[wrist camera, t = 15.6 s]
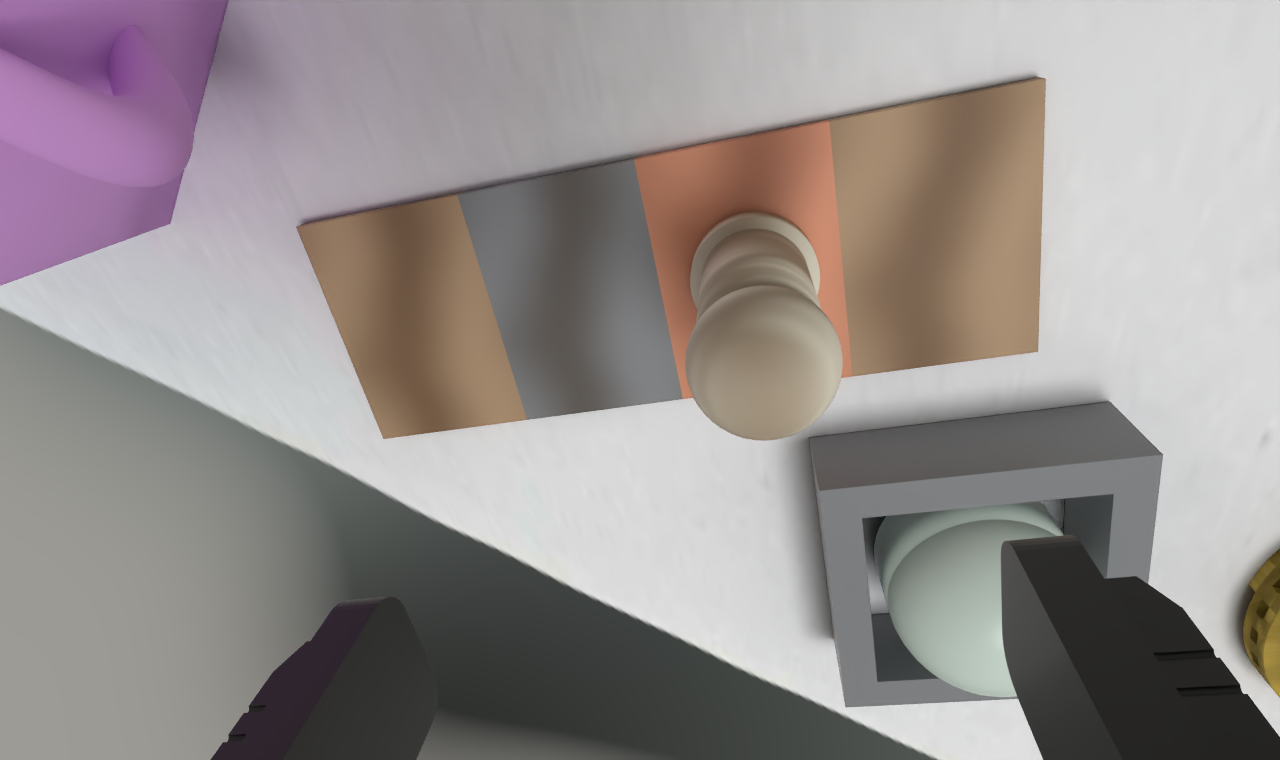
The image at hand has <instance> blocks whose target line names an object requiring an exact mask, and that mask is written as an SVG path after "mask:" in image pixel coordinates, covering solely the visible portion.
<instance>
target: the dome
mask: <svg viewBox="0 0 1280 760" xmlns="http://www.w3.org/2000/svg"><path fill="white" fill-rule="evenodd" d="M1053 536H1063V533H1062V532H1061V530H1060V529H1059V527H1058V525H1057V524H1056V522H1055V521H1054V519H1053V518H1052V516H1051V515H1050V513H1049V512H1048V510H1047V509H1046V507H1045V506H1044V504H1043V503H1042V502H1041V501H1034V502H1024V503H1014V504H1004V505H993V506H983V507H973V508H963V509H952V510H942V511H932V512H922V513H911V514H901V515H891V516H886V517H885V519H884V520H883V522H882V524H881V526H880V528H879V530H878V533H877V536H876V539H875V545H874V556H875V562H876V566H877V570H878V574H879V577H880V581H881V585H882V588H883V592H884V596H885V599H886V603H887V607H888V610H889V613H890V616H891V619H892V622H893V624H894V627H895V629H896V631H897V633H898V635H899V636H900V638H901V640H902V642H903V643H904V645H905V646H906V648H907V649H908V650H909V651H910V652H911V654H912V655H913V656H914V657H915V659H916V660H917V661H918V662H920V663H921V664H922V665H923V666H924V667H925V668H926V669H927V670H929V671H930V672H931V673H932V674H934V675H935V676H937V677H938V678H940V679H942V680H943V681H945V682H947V683H949V684H950V685H952V686H954V687H957V688H960V689H962V690H965V691H968V692H971V693H974V694H978V695H984V696H992V697H1015V696H1017V694H1016V692H1015V689H1014V687H1013V684H1012V681H1011V677H1010V674H1009V670H1008V667H1007V662H1006V658H1005V653H1004V646H1003V638H1002V599H1001V547H1002V543H1003V542H1004V541H1010V540H1021V539H1031V538H1042V537H1053Z"/></svg>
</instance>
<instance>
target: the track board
mask: <svg viewBox="0 0 1280 760" xmlns="http://www.w3.org/2000/svg"><path fill="white" fill-rule="evenodd" d="M1045 86H1046V79H1045V78H1040V77H1038V78H1033V79H1028V80H1023V81H1017V82H1012V83H1007V84H1002V85H997V86H992V87H987V88H982V89H977V90H972V91H967V92H962V93H957V94H952V95H947V96H942V97H937V98H932V99H927V100H922V101H917V102H912V103H907V104H902V105H897V106H892V107H887V108H882V109H877V110H872V111H867V112H862V113H857V114H852V115H847V116H842V117H837V118H832V119H827V120H822V121H817V122H812V123H806V124H801V125H796V126H791V127H786V128H781V129H776V130H771V131H766V132H761V133H756V134H751V135H746V136H741V137H736V138H731V139H726V140H721V141H716V142H711V143H706V144H701V145H696V146H691V147H686V148H681V149H676V150H671V151H666V152H661V153H656V154H651V155H646V156H641V157H636V158H631V159H626V160H621V161H616V162H611V163H606V164H601V165H596V166H590V167H585V168H580V169H575V170H570V171H565V172H560V173H555V174H550V175H545V176H540V177H535V178H530V179H525V180H520V181H515V182H510V183H505V184H500V185H495V186H490V187H485V188H480V189H475V190H470V191H465V192H460V193H455V194H450V195H445V196H440V197H435V198H430V199H425V200H420V201H415V202H410V203H405V204H400V205H395V206H390V207H385V208H379V209H374V210H369V211H364V212H359V213H354V214H349V215H344V216H339V217H334V218H329V219H324V220H319V221H314V222H309V223H304V224H302V225H300V226H298V227H296V228H297V230H298V233H299V235H300V237H301V240H302V242H303V245H304V247H305V250H306V252H307V254H308V257H309V259H310V262H311V264H312V266H313V269H314V271H315V274H316V276H317V279H318V281H319V283H320V286H321V288H322V291H323V293H324V296H325V298H326V300H327V303H328V305H329V308H330V310H331V313H332V315H333V317H334V320H335V322H336V325H337V327H338V330H339V332H340V334H341V337H342V339H343V342H344V344H345V346H346V349H347V351H348V354H349V356H350V359H351V361H352V363H353V366H354V368H355V371H356V373H357V376H358V378H359V380H360V383H361V385H362V388H363V390H364V393H365V395H366V397H367V400H368V402H369V405H370V407H371V410H372V412H373V414H374V417H375V419H376V422H377V424H378V426H379V429H380V431H381V434H382V436H383V439H386V438H394V437H401V436H409V435H416V434H424V433H431V432H439V431H446V430H454V429H461V428H469V427H476V426H484V425H491V424H499V423H506V422H514V421H521V420H529V419H536V418H544V417H551V416H559V415H566V414H574V413H581V412H589V411H596V410H604V409H611V408H619V407H626V406H634V405H641V404H649V403H656V402H664V401H671V400H679V399H686V398H693V395H692V393H691V391H690V388H689V385H688V381H687V377H686V369H685V359H686V350H687V345H688V342H689V339H690V336H691V333H692V331H693V329H694V327H695V325H696V319H697V308H696V306H695V303H694V301H693V298H692V294H691V287H690V275H691V268H692V262H693V258H694V254H695V252H696V249H697V247H698V245H699V243H700V242H701V240H702V239H703V237H704V236H705V235H706V234H707V233H708V231H710V230H711V229H712V228H713V227H714V226H715V225H717V224H718V223H719V222H721V221H723V220H724V219H726V218H728V217H731V216H733V215H736V214H739V213H744V212H751V211H762V212H769V213H773V214H777V215H779V216H782V217H784V218H786V219H788V220H789V221H791V222H793V223H794V224H795V225H796V226H798V227H799V228H800V229H801V230H802V231H803V232H804V233H805V235H806V236H807V238H808V239H809V241H810V243H811V245H812V247H813V249H814V252H815V254H816V257H817V260H818V263H819V269H820V285H819V291H818V295H817V297H818V300H819V303H820V306H821V310H822V311H823V312H824V313H825V314H826V316H827V317H828V318H829V320H830V321H831V323H832V325H833V327H834V329H835V331H836V333H837V335H838V338H839V341H840V345H841V351H842V360H843V367H842V374H841V378H844V377H851V376H859V375H866V374H874V373H881V372H889V371H896V370H904V369H911V368H919V367H926V366H934V365H941V364H949V363H956V362H964V361H971V360H979V359H986V358H994V357H1001V356H1009V355H1016V354H1024V353H1031V352H1038V333H1039V297H1040V262H1041V227H1042V192H1043V156H1044V121H1045Z"/></svg>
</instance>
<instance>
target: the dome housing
mask: <svg viewBox="0 0 1280 760" xmlns="http://www.w3.org/2000/svg"><path fill="white" fill-rule="evenodd" d="M809 443H810V451H811V459H812V467H813V475H814V483H815V491H816V499H817V507H818V515H819V523H820V531H821V539H822V547H823V555H824V563H825V571H826V579H827V587H828V595H829V603H830V611H831V619H832V627H833V635H834V642H835V648H836V654H837V660H838V666H839V672H840V677H841V683H842V689H843V695H844V701H845V707H862V706H882V705H902V704H922V703H941V702H961V701H981V700H1001V699H1018V697H1017V696H1015V697H992V696H984V695H978V694H974V693H971V692H968V691H965V690H962V689H960V688H957V687H954V686H952V685H950V684H949V683H947V682H945V681H943V680H942V679H940V678H938V677H937V676H935V675H934V674H932V673H931V672H930V671H929V670H927V669H926V668H925V667H924V666H923V665H922V664H921V663H920V662H918V661H917V660H916V659H915V657H914V656H913V655H912V654H911V652H910V651H909V650H908V649H907V648H906V646H905V645H904V643H903V642H902V640H901V638H900V636H899V635H898V633H897V631H896V629H895V627H894V624H893V622H892V619H891V616H890V614H880V615H871V608H870V598H869V587H868V576H867V566H866V555H865V544H864V534H863V523H862V518H870V517H881V516H891V515H901V514H911V513H922V512H932V511H942V510H952V509H963V508H973V507H983V506H993V505H1004V504H1014V503H1024V502H1034V501H1045V500H1055V499H1065V514H1064V534H1063V535H1073V536H1075V537H1076V538H1077V539H1078V540H1079V541H1080V542H1081V544H1082V545H1083V547H1084V548H1085V550H1086V551H1087V553H1088V554H1089V556H1090V557H1091V559H1092V560H1093V562H1094V563H1095V565H1096V566H1097V568H1098V569H1099V571H1100V573H1101V574H1102V576H1103V577H1104V579H1106V578H1118V577H1131V576H1137V577H1138V578H1140V579H1141V580H1143V581H1144V582H1146V583H1147V584H1148V580H1149V571H1150V562H1151V554H1152V545H1153V536H1154V528H1155V519H1156V510H1157V502H1158V493H1159V485H1160V476H1161V467H1162V459H1163V454H1162V453H1161V452H1160V451H1159V450H1158V449H1157V448H1156V447H1155V446H1154V445H1153V444H1152V443H1151V442H1150V441H1149V440H1148V439H1147V438H1146V437H1145V436H1144V435H1143V434H1142V433H1141V432H1140V431H1139V430H1138V429H1137V428H1136V427H1135V426H1134V425H1133V424H1132V423H1131V422H1130V421H1129V420H1128V419H1127V418H1126V417H1125V416H1124V415H1123V414H1122V413H1121V412H1120V411H1119V410H1118V409H1117V408H1116V407H1115V406H1114V405H1113V404H1112V403H1111V402H1104V403H1096V404H1088V405H1079V406H1071V407H1062V408H1054V409H1046V410H1037V411H1029V412H1020V413H1012V414H1004V415H995V416H987V417H978V418H970V419H962V420H953V421H945V422H937V423H928V424H920V425H911V426H903V427H895V428H886V429H878V430H869V431H861V432H853V433H844V434H836V435H827V436H819V437H811V438H809Z"/></svg>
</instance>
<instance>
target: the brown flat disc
mask: <svg viewBox="0 0 1280 760" xmlns="http://www.w3.org/2000/svg"><path fill="white" fill-rule="evenodd" d="M1249 586H1250V587H1251V588H1252V589H1253V590H1254V591H1255V594H1254V596H1253V597H1252V599H1251V601H1250V603H1249V606H1248V609H1247V612H1246V615H1245V619H1244V626H1243V638H1244V645H1245V648H1246V652H1247V654H1248V656H1249V658H1250V660H1251V662H1252V664H1253V665H1254V667H1255V668H1256V669H1257V670H1258V672H1259V673H1260V674H1261V675H1262V677H1263V678H1264V679H1265V680H1266V681H1267V683H1268V684H1269V685H1270V686H1271V688H1272V689H1273V690H1274V691H1275V692H1276V694H1277V695H1278V696H1279V697H1280V549H1279V550H1278V551H1277V552H1276V553H1275V554H1273V555H1272V556H1271V557H1270V558H1269V559H1268V560H1267V561H1266V562H1265V564H1264V565H1263V566H1262V567H1261V568H1260V569H1259V570H1258V571H1257V573H1256V574H1255V576H1254V577H1253V579H1252V580H1251V582H1250V583H1249Z"/></svg>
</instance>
